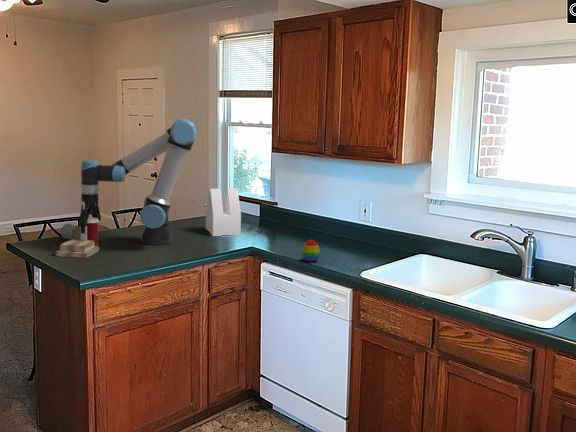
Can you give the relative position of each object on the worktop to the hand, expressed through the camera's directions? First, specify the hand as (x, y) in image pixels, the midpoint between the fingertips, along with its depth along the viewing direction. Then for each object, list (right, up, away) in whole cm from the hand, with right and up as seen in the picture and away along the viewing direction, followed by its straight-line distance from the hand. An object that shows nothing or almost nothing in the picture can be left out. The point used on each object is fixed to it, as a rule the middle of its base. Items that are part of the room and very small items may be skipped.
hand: (89, 237), depth 267 cm
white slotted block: (+58, 0, +48) cm, 75 cm away
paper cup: (0, -5, +1) cm, 5 cm away
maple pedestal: (-2, -7, -11) cm, 13 cm away
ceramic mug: (-14, -2, +18) cm, 23 cm away
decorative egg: (+105, -11, -7) cm, 106 cm away
